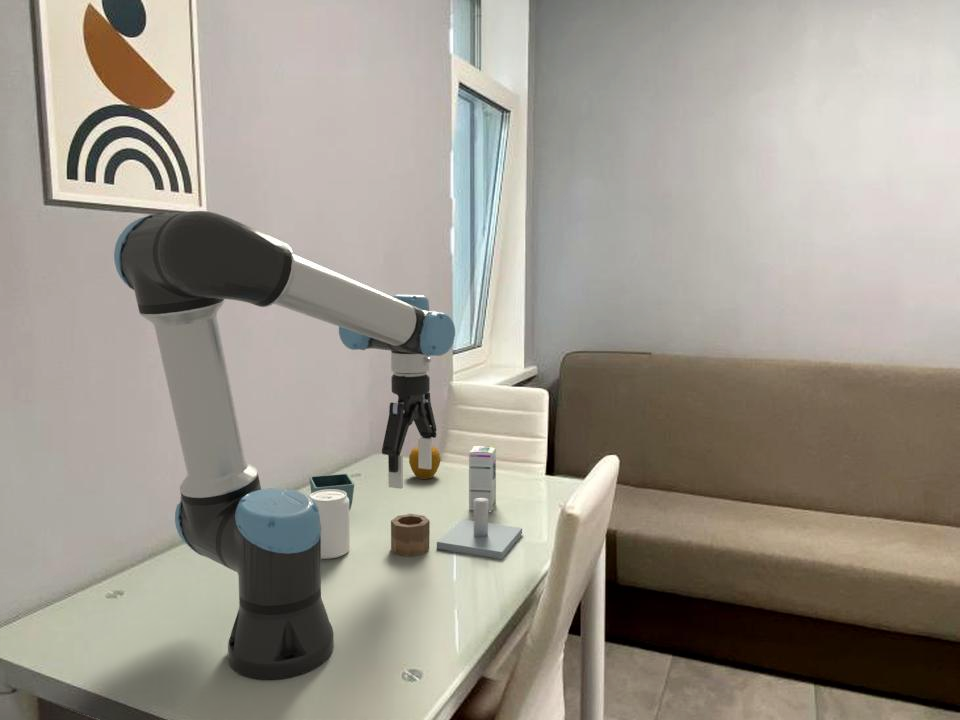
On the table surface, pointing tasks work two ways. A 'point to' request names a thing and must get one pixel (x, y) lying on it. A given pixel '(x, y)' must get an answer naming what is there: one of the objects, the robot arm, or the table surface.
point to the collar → (410, 534)
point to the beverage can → (333, 522)
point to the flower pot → (333, 484)
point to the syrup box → (482, 475)
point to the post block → (480, 535)
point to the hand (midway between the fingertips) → (411, 477)
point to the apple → (419, 471)
